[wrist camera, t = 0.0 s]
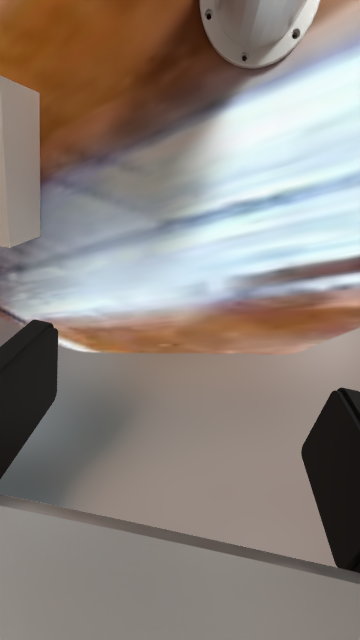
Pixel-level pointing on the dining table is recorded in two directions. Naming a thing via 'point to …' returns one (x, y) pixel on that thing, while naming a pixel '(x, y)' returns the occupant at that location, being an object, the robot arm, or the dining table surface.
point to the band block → (19, 164)
